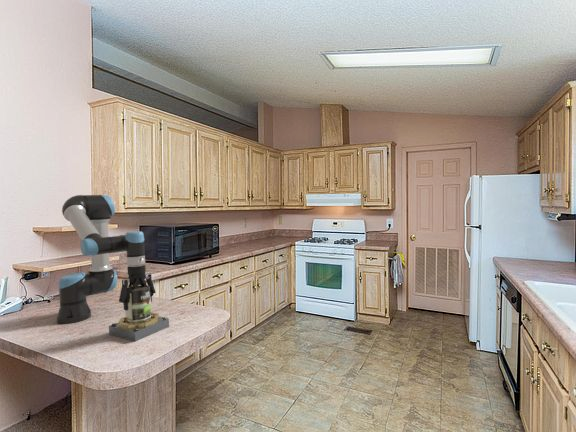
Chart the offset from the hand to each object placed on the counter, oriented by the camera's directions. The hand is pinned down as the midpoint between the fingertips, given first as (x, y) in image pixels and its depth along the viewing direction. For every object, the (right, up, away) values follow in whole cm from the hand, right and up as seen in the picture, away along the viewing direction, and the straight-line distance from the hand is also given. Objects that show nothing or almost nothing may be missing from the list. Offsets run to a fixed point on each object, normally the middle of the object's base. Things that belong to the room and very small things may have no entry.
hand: (138, 313), depth 150 cm
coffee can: (0, -3, 0) cm, 3 cm away
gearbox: (0, -8, 0) cm, 8 cm away
